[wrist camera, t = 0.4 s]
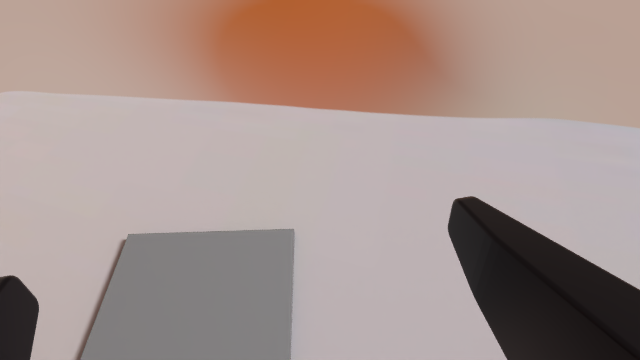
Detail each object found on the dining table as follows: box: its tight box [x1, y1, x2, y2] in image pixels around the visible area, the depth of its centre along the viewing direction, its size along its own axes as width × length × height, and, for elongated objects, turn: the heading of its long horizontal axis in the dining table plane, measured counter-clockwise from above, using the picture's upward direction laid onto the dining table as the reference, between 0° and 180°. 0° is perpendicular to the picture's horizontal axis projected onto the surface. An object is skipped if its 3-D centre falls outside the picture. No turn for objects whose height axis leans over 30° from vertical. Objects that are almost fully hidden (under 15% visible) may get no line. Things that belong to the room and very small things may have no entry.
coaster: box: [80, 229, 294, 360], centre depth 24 cm, size 12×12×1 cm
